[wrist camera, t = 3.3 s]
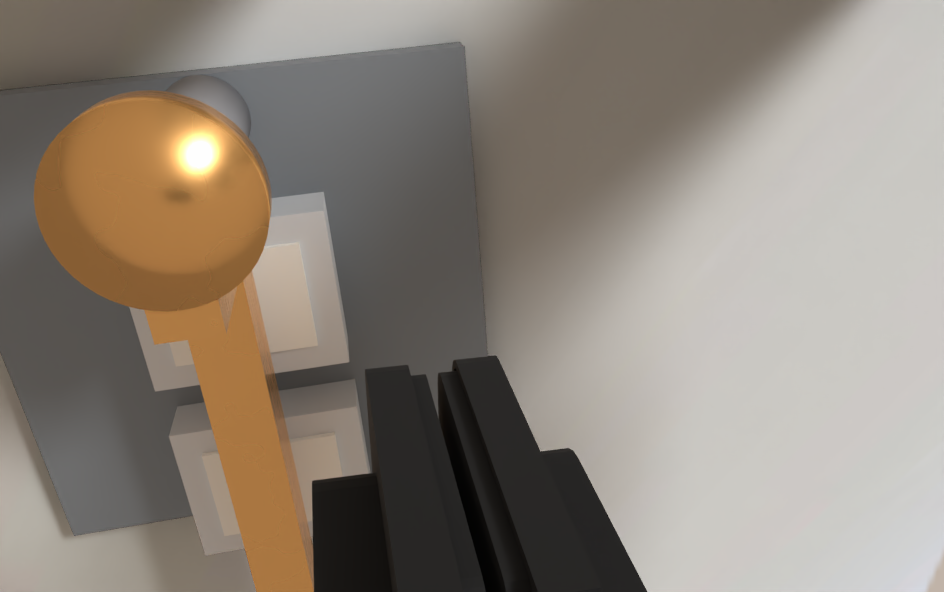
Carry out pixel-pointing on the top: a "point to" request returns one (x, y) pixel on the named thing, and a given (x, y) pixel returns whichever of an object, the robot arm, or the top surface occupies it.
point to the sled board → (275, 275)
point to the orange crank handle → (187, 283)
